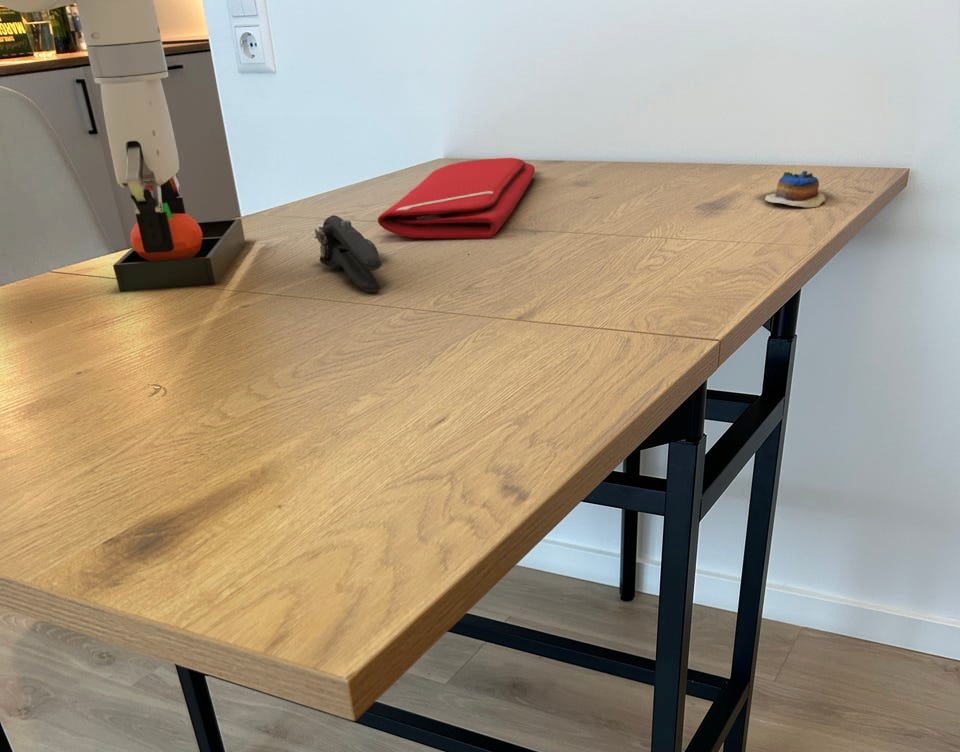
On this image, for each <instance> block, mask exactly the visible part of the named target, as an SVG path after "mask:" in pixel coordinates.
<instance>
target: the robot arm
mask: <svg viewBox="0 0 960 752" xmlns="http://www.w3.org/2000/svg"><path fill="white" fill-rule="evenodd" d="M0 5H1V6H2V7H4V8H5V9H8V10H11V11H13V12H18V13H41V12H46V11H50V10H53V9H54V10H55V9H58V8H61V7H66V6H71V5H75V6H76V10H77V14H78V17H79V22H80V26H81V30H82V34H83V39H84V43H85V46H86V48H85V49H86V52H87V56H88V60H89V64H90V68H91V73H92V77H93V81H94V83H95V84H100V95H101V103H102V110H103V117H104V123H105V129H106V133H107V138H108V144H109V149H110V155H111V160H112V164H113V169H114V170H113V171H114V174H115V178H116V182H117V185H119V187H121V188H123V189H127V188H129V191H130V192H131V193H130V199H131V200H132V203H133V211H134V214H135V217H136V223H137V222H138V227H139V231H140V235H141V240H142V244H143V248H144V251H145V252H146V253H155V252H170V251H172V250H173V249H174V245H173V240H172V235H171V231H170V226H169V222H168V217H167V212H163V209H162V203H167V204H168V207H169V209H170V212H171V214H187V213H186V209H185V203H184V199H183V198H184V197H182V190H181V186H180V184H179V181H178V172H179V170H180V161H179V160H180V158H179V152H178V147H177V142H176V138H175V133H174V128H173V124H172V120H171V114H170V111H169V106H168V103H167V99H166V94H165V91H164V88H163V83H162V80H161V79H165V78H166V79H167V78H169V77H170V76H169V71H168V65H167V61H166V56H165V55H166V54H165V51H164V46H163V41H162V37H161V32H160V27H159V21H158V17H157V11H156V6H155V2H154V0H0ZM152 194H153V195H152Z"/></svg>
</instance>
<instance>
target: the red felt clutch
mask: <svg viewBox="0 0 960 752" xmlns="http://www.w3.org/2000/svg"><path fill="white" fill-rule="evenodd" d="M535 170H536V169H535V166H534V165H533V164H531V163H528V162H527V163H526V162H525V161H524V160H523V159H520V158H515V157H499V158H482V159H472V160H466V161H460V162H454V163H450V164H448V165H444V166H442V167H439V168H437V169H435V170H433V171H432V172H431V173H430V174H428V176H427V177H425V179H423V180H422V181H421V182H420V183H419V184H417V185H416V187H414V188H413V189H411V190H410V191H409V192H408V193H407V194H406V195H404V196H403V197H402V198H401V199H400V200H399V201H396V203H395V204H393V205H391V206H390V207H389V208H388V209H386V210H385V211H383V212H382V213H381V214H379V216H378V217H377V223H378V225H379V226H380V227H381V228H383V230H385V231H388V232H390V233H392V234H395V235H397V236H401V237H408V238H416V239H489V238H491V237H494V235H496V234H497V232H498V231H499V230H500V228H501V227H502V225H504V223H505V222H506V220H507V219H508V218H509V217H510V215H511V214H512V213H513V210H514V209H515V208H516V206H517V204H518V202H519V201H520V199H521V198H522V196H523V195H524V193H525V192H526V190H527V189H528V186H529V185H530V184H531V181H532V180H533V178H534V177H533V176H534V175H535V172H536V171H535Z"/></svg>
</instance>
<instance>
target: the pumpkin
mask: <svg viewBox="0 0 960 752" xmlns="http://www.w3.org/2000/svg"><path fill="white" fill-rule="evenodd" d="M162 209H163V212H167V217H168V222H169V226H170V231H171V235H172V240H173V245H174V249H173V250H172V251H170V252H155V253H146V252H145V251H144V248H143V244H142V240H141V235H140V231H139V227H138V222H137V221H136V223H135V224H134V225H133V227H132V229H131V232H130V244H131V246H132V248H134V250H135V251H136V252H137V253H138V254H139V255H140V256H141V257H143V258H145V259H147V260H149V261H160V260H173V259H187V258H193V257H194V256H195V255H196V254H197V253H198V252H199V251H200V248H201V244H202V231H201V227H200V226H199V225H198V224H197V222H198V221H196V220H195V219H194V218H193V217H192V216H190V215H189V214H187V213H186V214H171V212H170V209H169V207H168V204H167V203H162Z"/></svg>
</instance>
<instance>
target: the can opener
mask: <svg viewBox="0 0 960 752" xmlns="http://www.w3.org/2000/svg"><path fill="white" fill-rule="evenodd" d="M313 238H314V239H317V241H318V242H319V244H320V246H319V249H320V256H319V262H320V263H321V264H323V265H324V266H328V267H331V268H335V269H343V271H345V273H346V274H347V276H348V277H349V279H350V280H351V281H352V282H353V283H354V284H355V285H356V286H357V287H359V288H360V289H361V290H363V291H364V292H366V293H376V292H378V291H379V290H381V285H380V283H379V280H377V278H376V277H375V275H374V274H373V273H372V271H376V270H378V269H380V268H381V266H382V260H381V258H380V257H379V256H380V255H379V251H378V249H377V247H376V245H375V243H374V242H373V241H371V240H370V239H368V238H366V237H364V236H363V234H361V233H360V232H359V231H358V230H357V229H356V228H355V227H353V226H352V221H351V220H349V219H343V218H342V217H340V216H338V215H335V214H333V215H330V216H328V217H327V218H326V219H325V220H324V221H323V225H322V226H318V229H317V228H314V237H313Z"/></svg>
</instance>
